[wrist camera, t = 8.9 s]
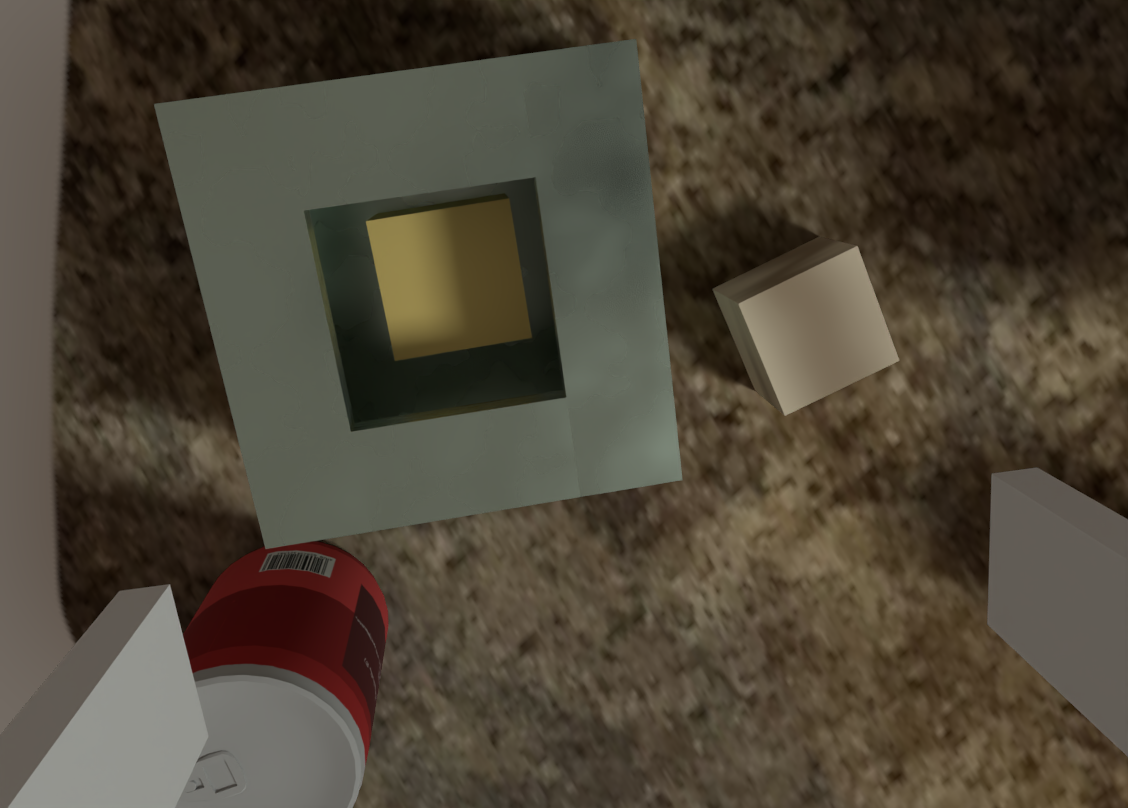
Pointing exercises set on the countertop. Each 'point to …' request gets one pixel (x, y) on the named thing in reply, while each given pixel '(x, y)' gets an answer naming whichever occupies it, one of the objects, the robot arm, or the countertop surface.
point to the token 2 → (806, 323)
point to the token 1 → (449, 276)
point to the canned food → (286, 679)
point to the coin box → (355, 308)
